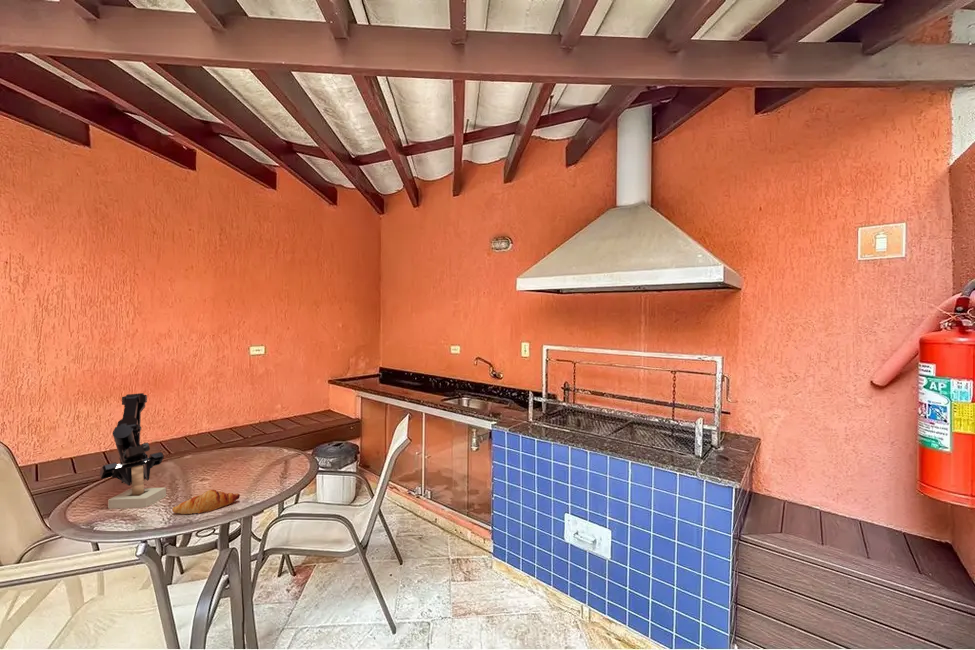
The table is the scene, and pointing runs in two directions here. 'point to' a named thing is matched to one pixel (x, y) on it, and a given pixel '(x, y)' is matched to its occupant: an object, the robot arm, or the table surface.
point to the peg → (137, 480)
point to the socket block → (137, 498)
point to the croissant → (206, 502)
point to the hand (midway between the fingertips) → (139, 482)
